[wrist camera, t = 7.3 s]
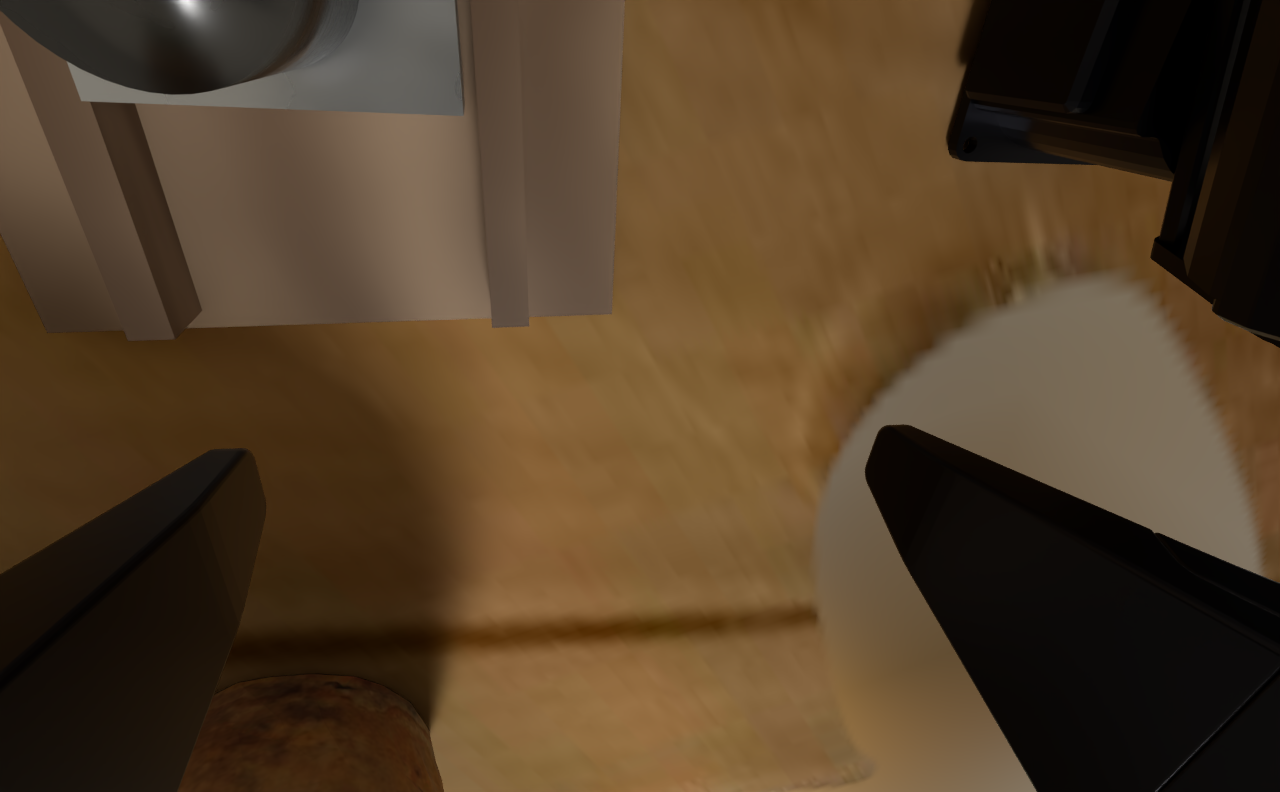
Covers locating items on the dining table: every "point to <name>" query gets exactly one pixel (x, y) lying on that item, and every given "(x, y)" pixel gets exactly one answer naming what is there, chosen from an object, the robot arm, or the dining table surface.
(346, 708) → the potted plant
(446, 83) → the metal press slider
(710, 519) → the dining table surface
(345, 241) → the press bed
